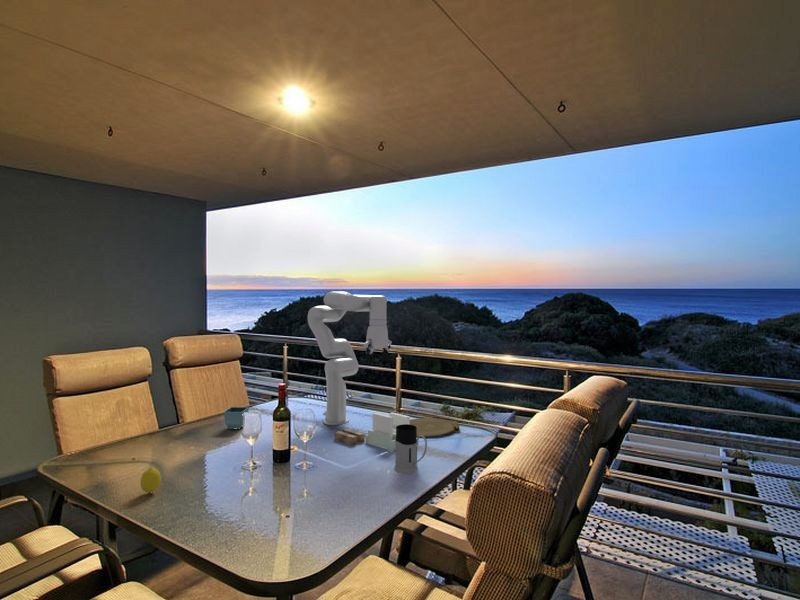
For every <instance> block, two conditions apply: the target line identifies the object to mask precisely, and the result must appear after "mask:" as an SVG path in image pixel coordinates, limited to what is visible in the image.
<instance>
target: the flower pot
mask: <svg viewBox="0 0 800 600" xmlns="http://www.w3.org/2000/svg"><path fill="white" fill-rule="evenodd" d="M249 409H250V407H247V406H244V407H243V406H241V407H240V406H231V407H229V408H227V409H226V410H224V411H223V418H224V424H225V425H226V427H227V428H229V429H234V428H237V429H239V428H241V427H242V425H243V416H242V414H243V413H244V412H248V413H249V411H250V410H249ZM242 428H243V427H242ZM242 428H241V429H242ZM229 429H228V430H229Z"/></svg>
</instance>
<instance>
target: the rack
mask: <svg viewBox="0 0 800 600" xmlns="http://www.w3.org/2000/svg"><path fill="white" fill-rule="evenodd" d="M389 416H391V417H393V440H392V436H390V435H386V434H383V433H379V432H376V431H372V429H367V434H365V439H364V441H365V442H364V443H366V444H368V445H372V446H374V447H378V448H381V449H384V450H386V452H387V453H391V452H393V451H395V440H396V426H398V425H403V424H409V425H410V420H411V419H410V416H409V415H404V414H400V413H395V412H390V413H389Z"/></svg>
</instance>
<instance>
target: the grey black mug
mask: <svg viewBox="0 0 800 600" xmlns="http://www.w3.org/2000/svg"><path fill="white" fill-rule="evenodd" d="M420 438H423V440H424V443H425V444H424V452H423V453H422V456H421V457H420V458H419V459H418V446H419V440H420ZM426 438H427V437H424V436H422V435H420V436H418V437H417V427H416V426H414V425H409V424H403V425H398V426H396V440H395V450H394V451H395V453H394V457H395V462H394V463H395V464H394V468H393V470H394V471H395V472H397V473H400V474H405V475H406V474H414V473H416V472H418V471H419V468H418V462H420V461H421V460H422V459H423V458H424V457H425V455H426V454H427V453H426V452H427V449H428V440H427V439H426ZM417 470H418V471H417Z"/></svg>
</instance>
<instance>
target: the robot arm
mask: <svg viewBox="0 0 800 600" xmlns="http://www.w3.org/2000/svg"><path fill="white" fill-rule="evenodd" d="M323 303H324V305H317V306H316V305H315V306H313V307H311V308H310V309H309V310H308V311H307V312H308V313H307V323H308V327H309V329H310V330H311V332H312V333H313V335H314V337H315V340H316V342H317V345H318V348H319V350H320V353H321V355H322V357H324V358H326V359H329V360H327V361H326V363H325V364H324V372H325V378H326V379H325V381H326V410H325V411H324V412H323V413H322V415H323V416H325V418H324V419H323V424H325V425H328V426H342V425H345V424H348V423H349V422H350V418H349V417H347V386H346V381H344V379H343V378H344V377H349V376H350V377H351V376H354V375H356V374H357V372H358V371H359V361H358V360H357V357H356V354H355V352H354V349H353V347H352V345H351V343H350V342H349V340H347V339H345V338H335V337H334V335H333V332H332V330H331V328H329V327H328V326H327V325H326V324H325V323H334V322H335V323H336V322H339V321H340V320H341V319H342V318H343V317H344V315H345V314H346V313H347V312H361V313H362V312H369V326H368V327H367V331H366V341H365V342H364V343H363V345H362V346H363V348H364V349H363V350H364V352H365V354H366V363H368V364H369V363H370V364H373V363H374V354H373V353H374V351H375V350H379V349H381V350H382V352H381V358H382V359H381V360H382V361H386V362H387V361H389V352H390V349H391V345H392V343H393V342H392V340H390V339H389V332H388V326H387V322H388V321H387V297H386V296H385V295H372V294H352V293H350V292H347V291H330V292H327V293H326V294H325V295H324V297H323Z"/></svg>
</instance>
